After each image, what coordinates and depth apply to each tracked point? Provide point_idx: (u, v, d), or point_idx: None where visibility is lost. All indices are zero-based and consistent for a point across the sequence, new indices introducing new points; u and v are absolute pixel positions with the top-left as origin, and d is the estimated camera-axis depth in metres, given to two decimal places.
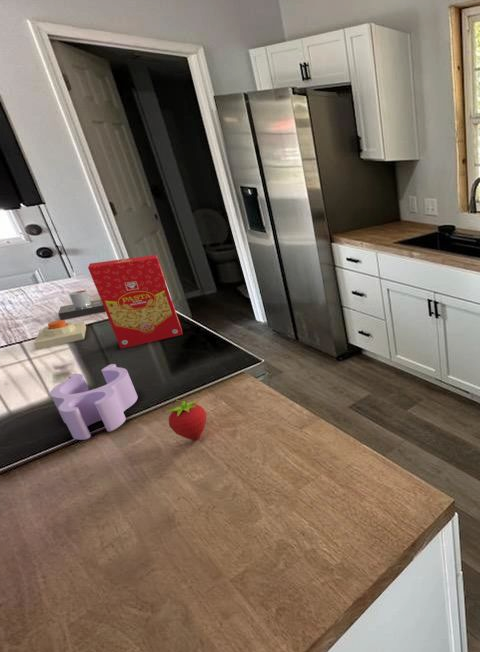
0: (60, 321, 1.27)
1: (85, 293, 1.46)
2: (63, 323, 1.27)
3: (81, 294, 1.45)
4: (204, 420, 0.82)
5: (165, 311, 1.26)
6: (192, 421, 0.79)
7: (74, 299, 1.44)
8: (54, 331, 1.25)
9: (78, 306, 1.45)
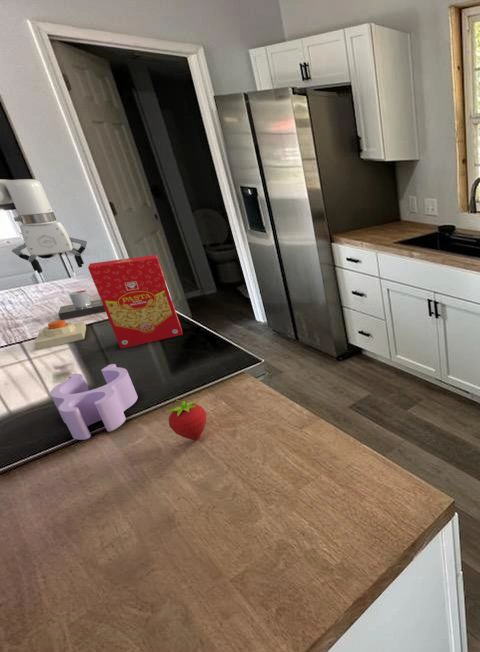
0: (60, 321, 1.27)
1: (85, 293, 1.46)
2: (63, 323, 1.27)
3: (81, 294, 1.45)
4: (204, 420, 0.82)
5: (165, 311, 1.26)
6: (192, 421, 0.79)
7: (74, 299, 1.44)
8: (54, 331, 1.25)
9: (78, 306, 1.45)
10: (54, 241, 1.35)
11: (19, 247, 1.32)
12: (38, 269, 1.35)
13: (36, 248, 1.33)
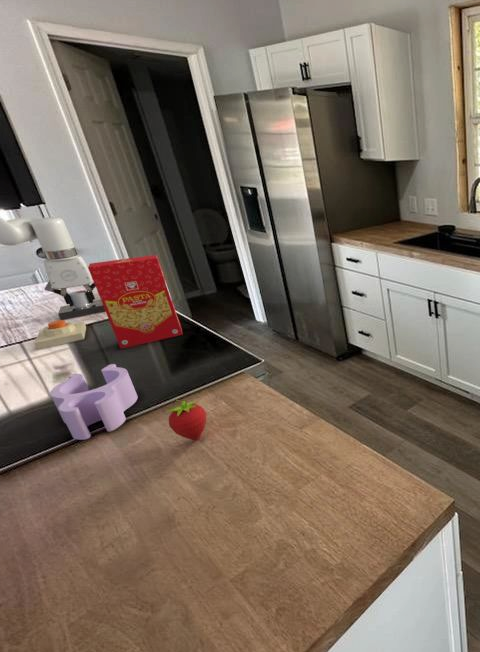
0: (60, 321, 1.27)
1: (85, 293, 1.46)
2: (63, 323, 1.27)
3: (81, 294, 1.45)
4: (204, 420, 0.82)
5: (165, 311, 1.26)
6: (192, 421, 0.79)
7: (74, 299, 1.44)
8: (54, 331, 1.25)
9: (78, 306, 1.45)
10: (75, 275, 1.42)
11: (48, 284, 1.40)
12: (70, 303, 1.44)
13: (59, 282, 1.40)
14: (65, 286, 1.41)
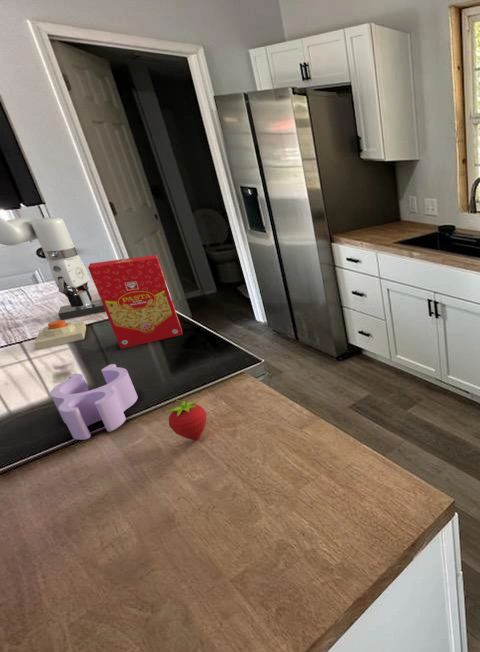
0: (60, 321, 1.27)
1: None
2: (63, 323, 1.27)
3: (86, 292, 1.47)
4: (204, 420, 0.82)
5: (165, 311, 1.26)
6: (192, 421, 0.79)
7: (83, 298, 1.46)
8: (54, 331, 1.25)
9: (87, 304, 1.47)
10: (82, 272, 1.45)
11: (64, 285, 1.39)
12: (82, 302, 1.45)
13: (76, 280, 1.42)
14: (80, 284, 1.44)
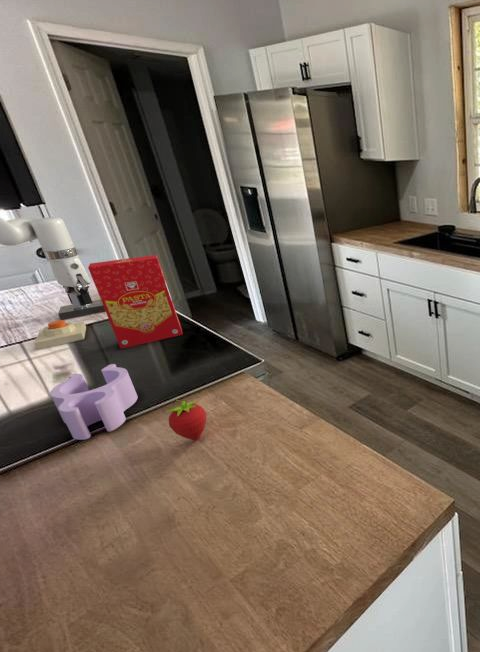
0: (60, 321, 1.27)
1: None
2: (63, 323, 1.27)
3: None
4: (204, 420, 0.82)
5: (165, 311, 1.26)
6: (192, 421, 0.79)
7: None
8: (54, 331, 1.25)
9: None
10: None
11: None
12: None
13: None
14: None
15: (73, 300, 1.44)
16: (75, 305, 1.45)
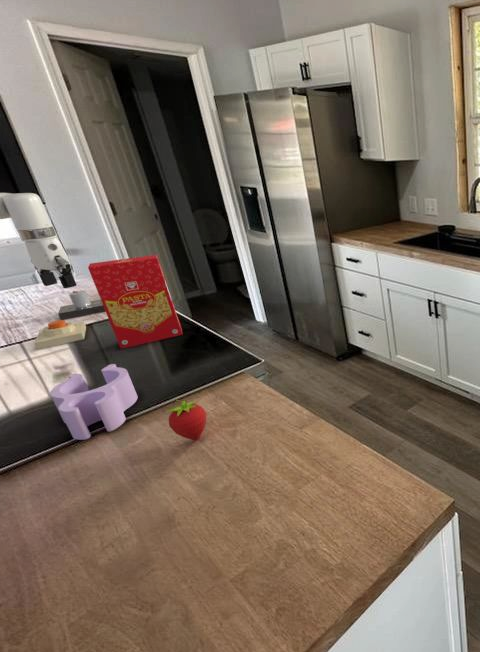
0: (60, 321, 1.27)
1: None
2: (63, 323, 1.27)
3: None
4: (204, 420, 0.82)
5: (165, 311, 1.26)
6: (192, 421, 0.79)
7: None
8: (54, 331, 1.25)
9: None
10: None
11: None
12: None
13: None
14: None
15: (73, 300, 1.44)
16: (75, 305, 1.45)
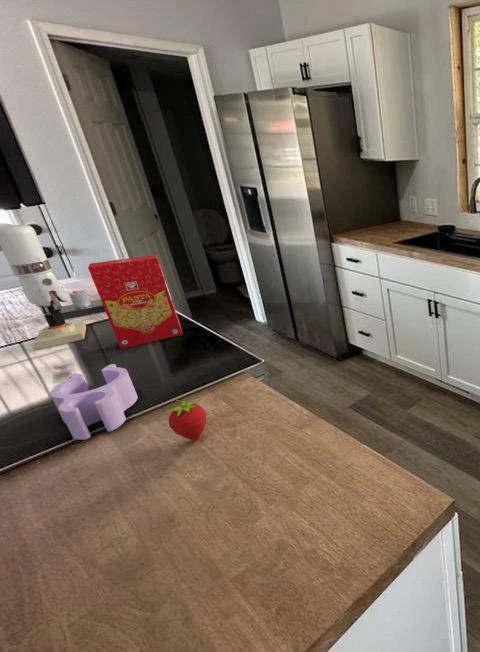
0: None
1: None
2: None
3: None
4: (204, 420, 0.82)
5: (165, 311, 1.26)
6: (192, 421, 0.79)
7: None
8: (54, 331, 1.25)
9: None
10: None
11: None
12: None
13: None
14: None
15: (73, 300, 1.44)
16: (75, 305, 1.45)
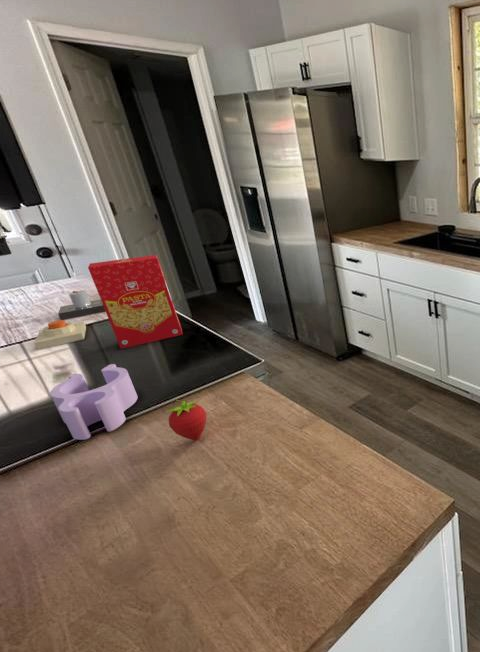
0: (60, 321, 1.27)
1: None
2: (63, 323, 1.27)
3: None
4: (204, 420, 0.82)
5: (165, 311, 1.26)
6: (192, 421, 0.79)
7: None
8: (54, 331, 1.25)
9: None
10: None
11: None
12: None
13: None
14: None
15: (73, 300, 1.44)
16: (75, 305, 1.45)
